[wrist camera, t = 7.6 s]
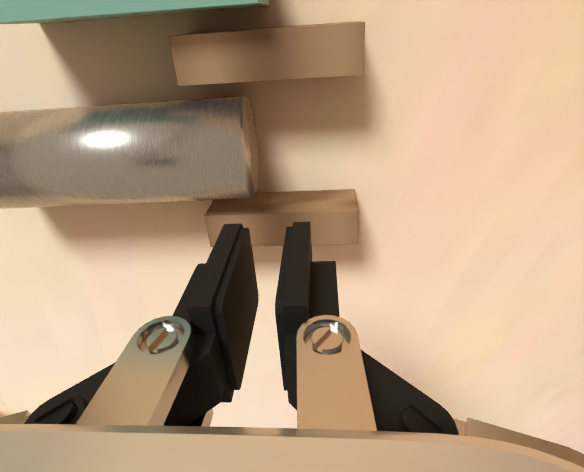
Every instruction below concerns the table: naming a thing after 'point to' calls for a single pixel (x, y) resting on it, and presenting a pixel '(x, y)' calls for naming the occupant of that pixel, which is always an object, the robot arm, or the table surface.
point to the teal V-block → (106, 8)
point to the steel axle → (129, 153)
